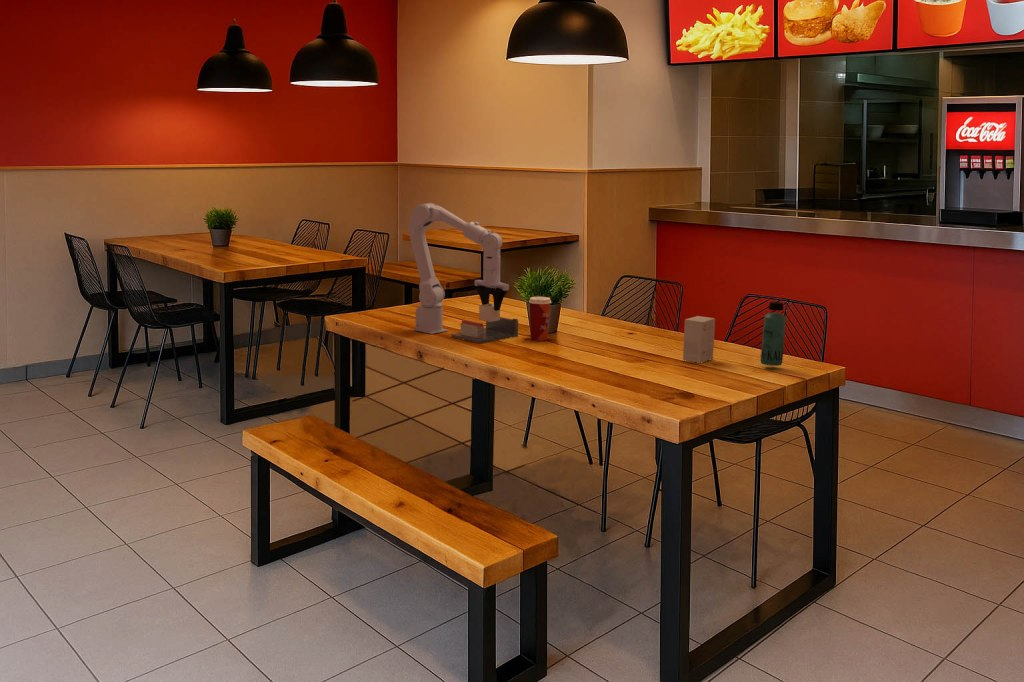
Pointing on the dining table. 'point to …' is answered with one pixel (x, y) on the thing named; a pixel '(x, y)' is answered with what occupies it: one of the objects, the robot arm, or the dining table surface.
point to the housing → (488, 313)
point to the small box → (698, 339)
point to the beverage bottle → (773, 336)
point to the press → (494, 331)
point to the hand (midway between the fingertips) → (491, 309)
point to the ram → (472, 329)
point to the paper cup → (539, 317)
